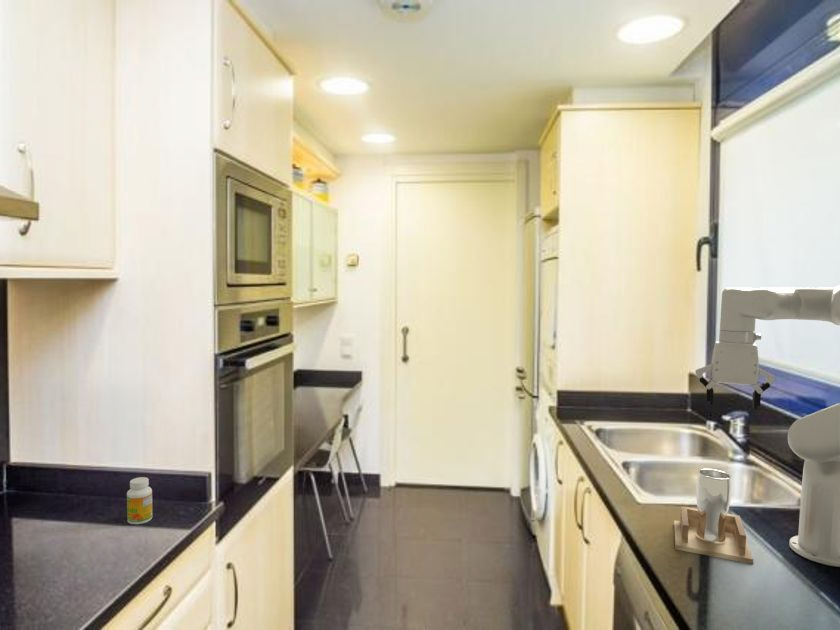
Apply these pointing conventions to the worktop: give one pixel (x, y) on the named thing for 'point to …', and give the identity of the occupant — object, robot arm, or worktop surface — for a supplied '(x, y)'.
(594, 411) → the worktop surface
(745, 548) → the glass rest
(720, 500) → the beer glass
